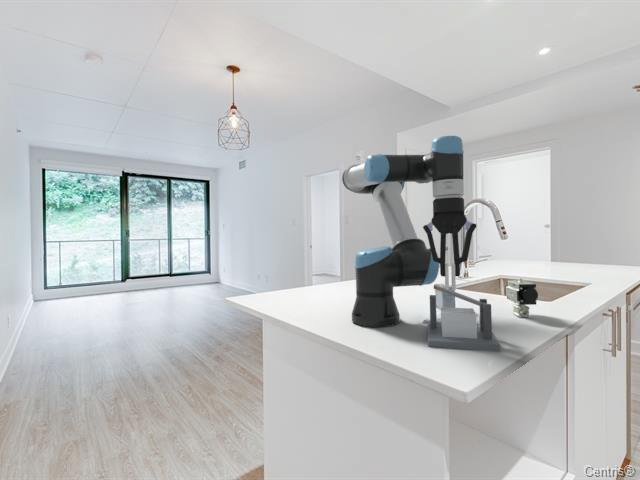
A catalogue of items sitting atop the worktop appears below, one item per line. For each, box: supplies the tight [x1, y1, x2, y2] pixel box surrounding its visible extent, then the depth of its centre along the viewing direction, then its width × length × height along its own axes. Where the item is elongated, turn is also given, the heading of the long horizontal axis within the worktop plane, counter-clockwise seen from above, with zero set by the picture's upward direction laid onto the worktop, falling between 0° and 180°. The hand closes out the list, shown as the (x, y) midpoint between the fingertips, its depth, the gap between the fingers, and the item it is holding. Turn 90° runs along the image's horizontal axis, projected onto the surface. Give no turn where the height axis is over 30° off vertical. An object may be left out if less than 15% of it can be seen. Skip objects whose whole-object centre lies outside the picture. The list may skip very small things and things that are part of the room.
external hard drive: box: [422, 310, 441, 325], centre depth 106 cm, size 2×8×12 cm
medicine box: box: [434, 283, 457, 311], centre depth 119 cm, size 8×4×9 cm, turn 179°
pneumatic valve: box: [504, 278, 539, 319], centre depth 107 cm, size 6×12×12 cm, turn 174°
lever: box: [433, 283, 488, 307], centre depth 87 cm, size 14×4×1 cm, turn 73°
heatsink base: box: [427, 294, 501, 352], centre depth 87 cm, size 16×14×10 cm
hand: (450, 288), depth 87 cm, fingers closed
